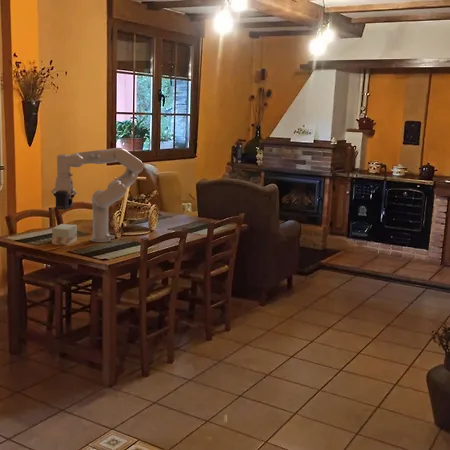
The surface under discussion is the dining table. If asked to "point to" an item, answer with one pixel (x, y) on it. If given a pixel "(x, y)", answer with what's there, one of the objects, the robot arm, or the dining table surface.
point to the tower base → (64, 240)
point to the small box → (62, 200)
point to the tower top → (64, 230)
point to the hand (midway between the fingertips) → (64, 204)
